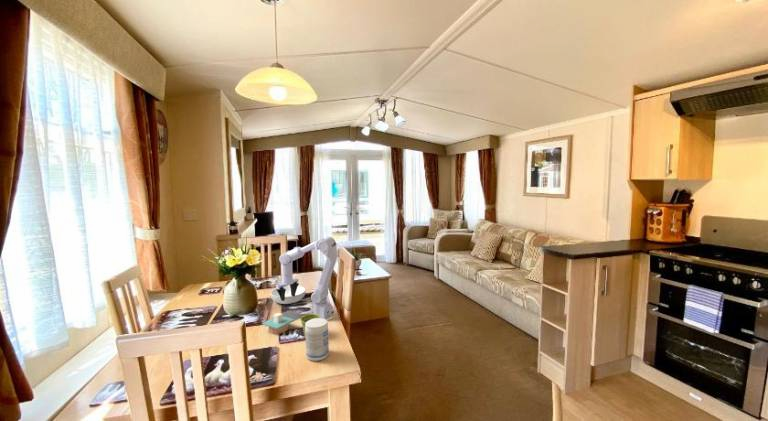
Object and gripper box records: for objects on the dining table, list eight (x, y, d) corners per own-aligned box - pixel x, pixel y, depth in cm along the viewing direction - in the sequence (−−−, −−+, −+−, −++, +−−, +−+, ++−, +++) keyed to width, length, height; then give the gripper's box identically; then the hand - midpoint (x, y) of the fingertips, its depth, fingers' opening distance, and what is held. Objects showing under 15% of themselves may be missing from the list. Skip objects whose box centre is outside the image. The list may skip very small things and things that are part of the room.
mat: (305, 315, 177) (305, 314, 177) (287, 324, 166) (287, 324, 166) (289, 310, 184) (288, 310, 184) (270, 319, 173) (270, 318, 173)
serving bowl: (300, 308, 188) (300, 296, 188) (265, 308, 189) (265, 296, 188) (309, 295, 209) (309, 285, 208) (277, 295, 209) (277, 285, 209)
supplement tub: (329, 360, 133) (328, 326, 132) (306, 363, 131) (304, 328, 130) (328, 348, 143) (327, 316, 141) (306, 351, 141) (305, 318, 139)
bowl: (291, 328, 162) (291, 320, 162) (277, 336, 154) (277, 328, 154) (279, 324, 167) (279, 317, 166) (265, 331, 159) (264, 323, 158)
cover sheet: (294, 320, 162) (294, 312, 162) (277, 329, 153) (276, 321, 152) (279, 316, 168) (278, 308, 167) (261, 324, 158) (261, 316, 158)
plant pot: (324, 333, 157) (324, 315, 156) (312, 341, 149) (312, 323, 148) (309, 329, 161) (308, 312, 160) (296, 337, 152) (296, 320, 152)
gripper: (291, 270, 185) (292, 292, 187) (271, 276, 173) (272, 301, 174) (300, 271, 182) (301, 294, 183) (280, 278, 169) (281, 303, 171)
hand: (288, 298), depth 178 cm, fingers open, 7 cm apart
